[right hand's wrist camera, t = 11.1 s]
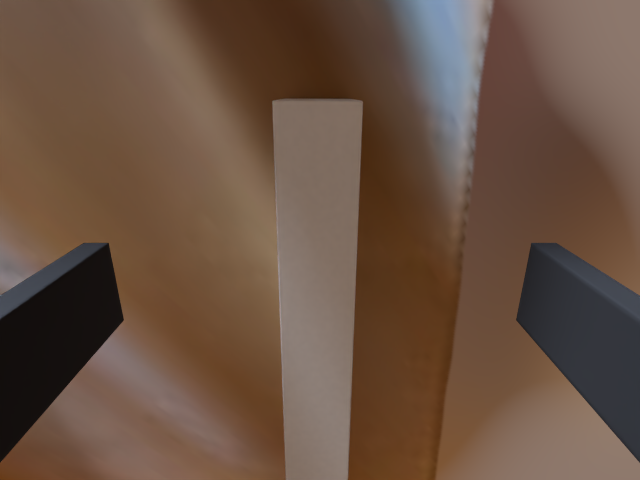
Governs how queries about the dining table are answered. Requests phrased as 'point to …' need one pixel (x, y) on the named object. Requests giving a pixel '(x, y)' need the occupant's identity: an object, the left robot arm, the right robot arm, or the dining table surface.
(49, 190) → the dining table surface
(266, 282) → the dining table surface
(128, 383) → the dining table surface
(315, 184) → the bar
